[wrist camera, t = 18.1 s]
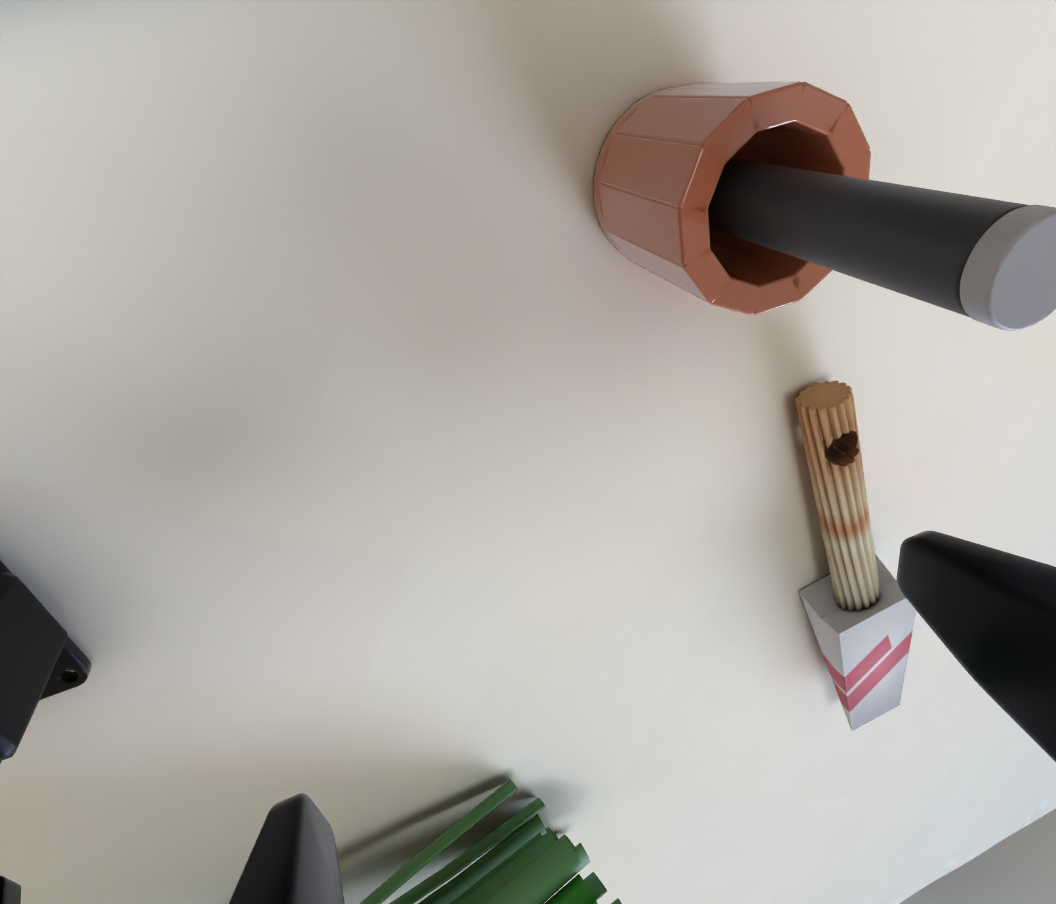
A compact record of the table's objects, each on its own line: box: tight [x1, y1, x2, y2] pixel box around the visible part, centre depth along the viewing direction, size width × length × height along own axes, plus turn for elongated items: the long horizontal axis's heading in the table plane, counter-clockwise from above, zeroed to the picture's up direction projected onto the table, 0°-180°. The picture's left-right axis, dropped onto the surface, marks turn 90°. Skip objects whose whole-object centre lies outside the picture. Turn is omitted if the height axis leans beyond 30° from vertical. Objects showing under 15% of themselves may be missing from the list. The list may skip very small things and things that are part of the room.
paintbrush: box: [795, 381, 916, 731], centre depth 27 cm, size 4×3×20 cm
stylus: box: [708, 158, 1056, 331], centre depth 13 cm, size 2×2×10 cm
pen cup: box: [593, 82, 871, 315], centre depth 16 cm, size 5×5×5 cm
